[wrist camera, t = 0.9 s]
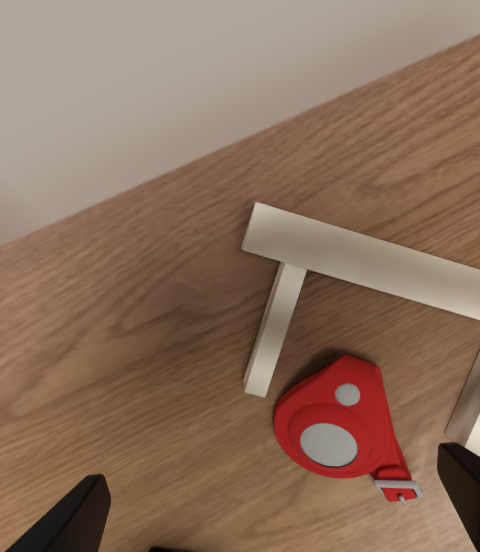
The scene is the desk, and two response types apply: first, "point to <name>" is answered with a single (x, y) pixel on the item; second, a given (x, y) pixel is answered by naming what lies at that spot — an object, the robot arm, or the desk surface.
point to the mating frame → (364, 271)
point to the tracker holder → (345, 428)
